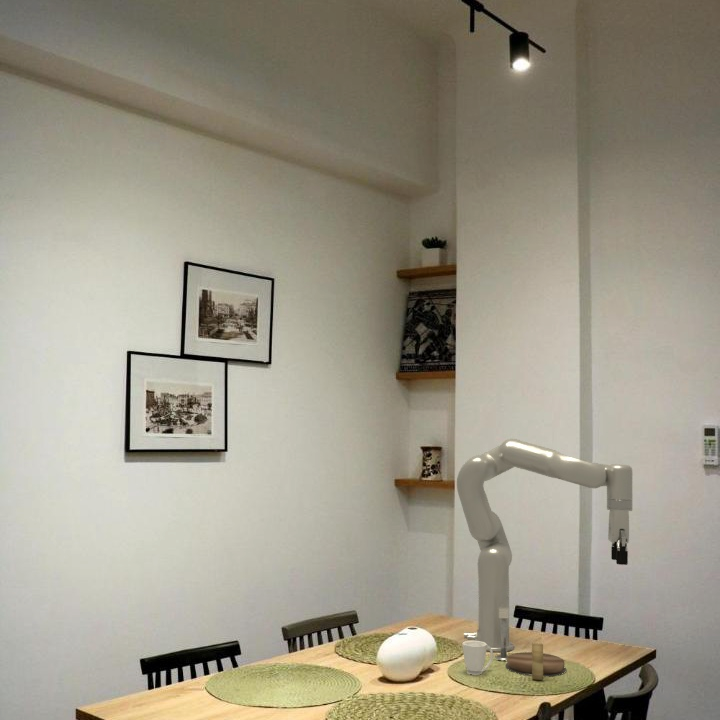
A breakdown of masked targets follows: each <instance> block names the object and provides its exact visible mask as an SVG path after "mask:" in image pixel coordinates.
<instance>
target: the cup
mask: <svg viewBox="0 0 720 720" xmlns="http://www.w3.org/2000/svg"><path fill="white" fill-rule="evenodd" d="M461 645H462V653H463V659H464V661H463V662H464V664H465V668H466V669H467V670H466V674H468V675H470V674H472V675H471V676H480V674H481V675H483V673H484V672H485V671H486V670H487V669H488V668H489V667H490V666H491V664H492V662H493V660H494V652H493V651H492V648H491V647H490V646H488V645H487V644H486V643H485V642H481V641H475V640H465V641H463V642H462V643H461ZM487 647H488V648H489V649H490V651H489V652H490V658H489V661H488V662H487V664H486V665H485V662H486V655H487V651H486V650H487ZM484 665H485V666H484Z"/></svg>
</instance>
